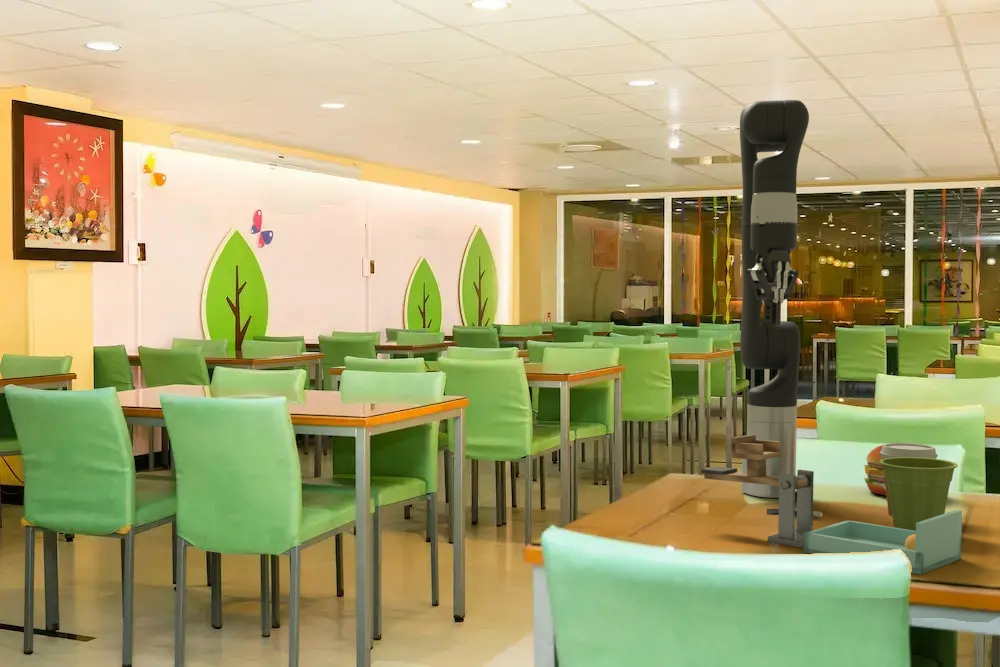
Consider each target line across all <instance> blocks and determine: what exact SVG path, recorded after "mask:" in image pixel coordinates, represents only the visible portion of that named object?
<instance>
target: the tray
mask: <svg viewBox="0 0 1000 667" xmlns="http://www.w3.org/2000/svg"><path fill="white" fill-rule="evenodd" d="M962 520H963V510H960V509H955V510H951V511H948V512H945V514H942V515H939V516H936V517H933V518H930V519H927V520H923V521H920V522H917V523H916V531H914V530H907V529H901V528H895V527H894V526H888V525H887V526H886V525H881V524H874V523H868V522H862V521H854V520H851V519H850V520H849V519H847V520H844V521H840V522H837V523H833V524H830V525H826V526H823V527H820V528H815V529H813V530H812V531H809V532H805V533H804V548H803V554H806V553H850V552H871V551H883V550H892V549H901V550H902V551H903V552H904V553H905V554H906V556H907V557H908V558H909V560H910V562H911V565H912V573H911V574H914V575H921V576H922V575H923V574H927V573H929V572H931V571H933V570H936V569H939V568H942V567H944V566H946V565H949V564H951V563H953V562H957V561H958V560H960V559H961V560H962V532H963V530H962V527H963V523H962V522H963V521H962ZM913 534H916V547H915V550H909V549H906V548H905V542H906V539H907V538H908V537H909V536H910V535H913Z"/></svg>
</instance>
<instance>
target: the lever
mask: <svg viewBox="0 0 1000 667" xmlns="http://www.w3.org/2000/svg"><path fill="white" fill-rule="evenodd" d="M730 447H731V448H730V449H731V458H732V459H741V460H742V459H747V474H745V473H742V472H738V467H735V468H734V467H725V466H713V467H707V468H701V471H700V472H701V474H704V478H703V479H705V480H706V479H707V480H716V481H725V482H726V481H727V482H734V483H735V482H736V483H737V482H738V483H742V482H745V483H755V484H766V485H776V486H779V477H778V476H767V475H766V459H769V458H775V457H780V456H781V444H780V441H766V440H756V435H747V434H746V435H741V436H734V437H731V438H730ZM808 484H809V480H808V478H807V477H806V476H805V475H799V476H797V475H796V484H795V491H797V489H801V488H805V487H807V486H808Z"/></svg>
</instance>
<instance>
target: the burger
mask: <svg viewBox="0 0 1000 667" xmlns="http://www.w3.org/2000/svg"><path fill="white" fill-rule="evenodd" d="M888 444H890V442H889V443H888ZM883 445H884V444H882V445H879V446H877V447H875V448H873V449H871V450H870V452H869V453H868V454H867V456H866V460H865V461H866V462H867V464H863V466H864V472H865V474H866V477H863V479H864V481H865V483H866V485H867V488H868V490H869V491H870V492H872V493H874V494H878V495H881V496H882V495H883V496H886V497H887V495H886V487H885V478H884V469H883V465H882V464H880V460H882V457H881V454H880V451H881V450H882V446H883Z"/></svg>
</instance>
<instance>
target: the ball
mask: <svg viewBox="0 0 1000 667" xmlns="http://www.w3.org/2000/svg"><path fill="white" fill-rule="evenodd" d="M915 547H916V534H913V535H910V536H909V537H908V538H907V539H906V542H905V548H906V549H909V550H915Z"/></svg>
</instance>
